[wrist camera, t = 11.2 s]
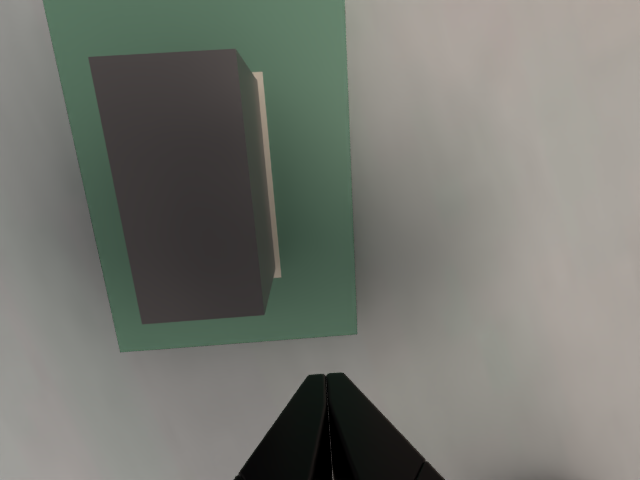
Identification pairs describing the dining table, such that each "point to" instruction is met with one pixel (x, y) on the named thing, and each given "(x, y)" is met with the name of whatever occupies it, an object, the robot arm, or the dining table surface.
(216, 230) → the plug block
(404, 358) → the dining table surface
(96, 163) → the board
